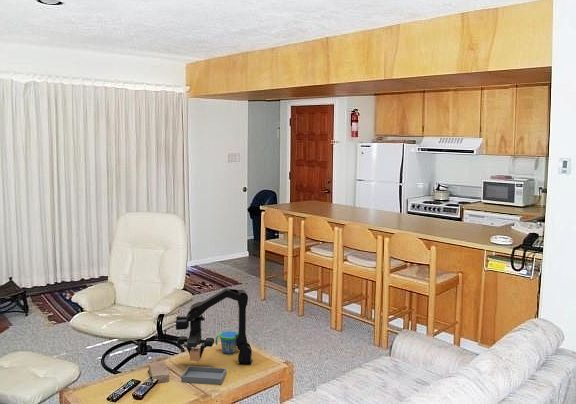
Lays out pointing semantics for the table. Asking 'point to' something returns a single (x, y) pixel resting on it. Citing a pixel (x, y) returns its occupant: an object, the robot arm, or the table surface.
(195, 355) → the bored block
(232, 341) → the snack cup
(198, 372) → the tray
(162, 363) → the brick
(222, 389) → the table surface
